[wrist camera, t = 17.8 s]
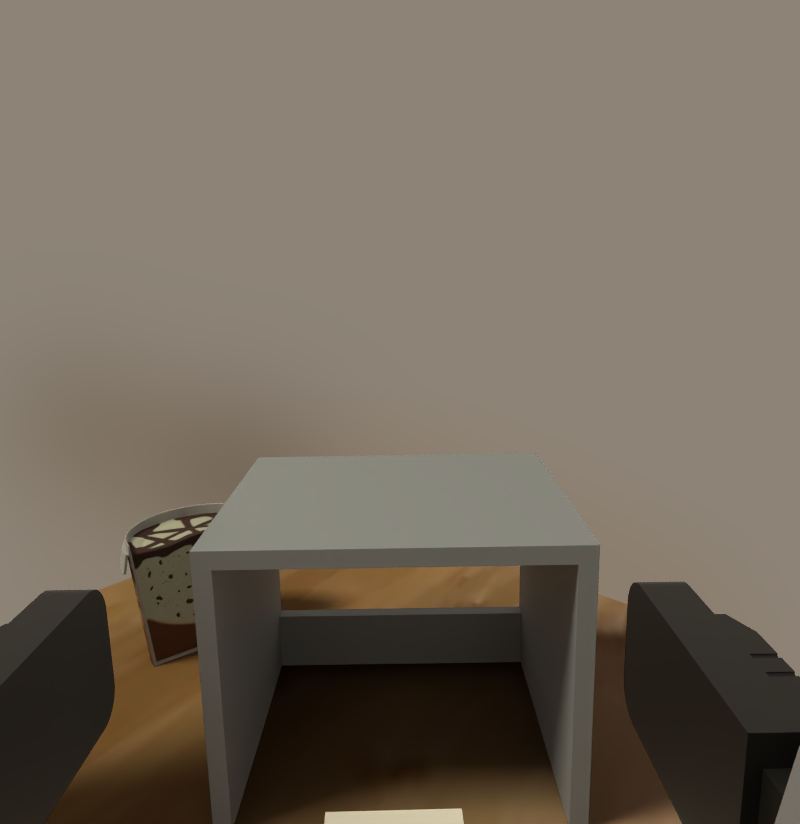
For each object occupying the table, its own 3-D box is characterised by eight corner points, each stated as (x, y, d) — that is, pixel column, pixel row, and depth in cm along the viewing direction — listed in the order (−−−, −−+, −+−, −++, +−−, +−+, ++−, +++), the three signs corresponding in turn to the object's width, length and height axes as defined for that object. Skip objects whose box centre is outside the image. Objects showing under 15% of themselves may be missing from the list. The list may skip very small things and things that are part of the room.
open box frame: (213, 832, 38) (189, 551, 35) (271, 658, 55) (258, 457, 51) (588, 827, 38) (599, 545, 34) (531, 654, 54) (535, 452, 51)
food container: (247, 595, 65) (240, 491, 63) (280, 620, 60) (274, 508, 58) (109, 640, 58) (95, 524, 56) (134, 673, 53) (120, 547, 51)
